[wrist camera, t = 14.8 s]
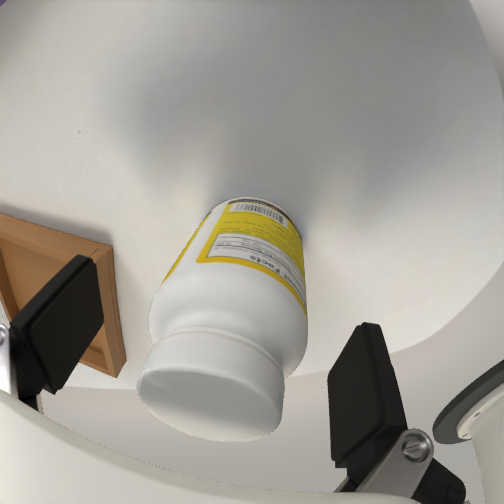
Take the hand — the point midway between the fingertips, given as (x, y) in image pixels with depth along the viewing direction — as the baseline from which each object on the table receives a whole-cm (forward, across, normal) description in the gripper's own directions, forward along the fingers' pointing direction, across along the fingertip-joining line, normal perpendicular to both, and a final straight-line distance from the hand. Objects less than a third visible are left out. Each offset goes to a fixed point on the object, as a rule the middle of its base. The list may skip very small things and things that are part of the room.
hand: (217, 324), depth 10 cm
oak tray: (+7, +15, +8) cm, 18 cm away
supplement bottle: (+7, 0, 0) cm, 7 cm away
